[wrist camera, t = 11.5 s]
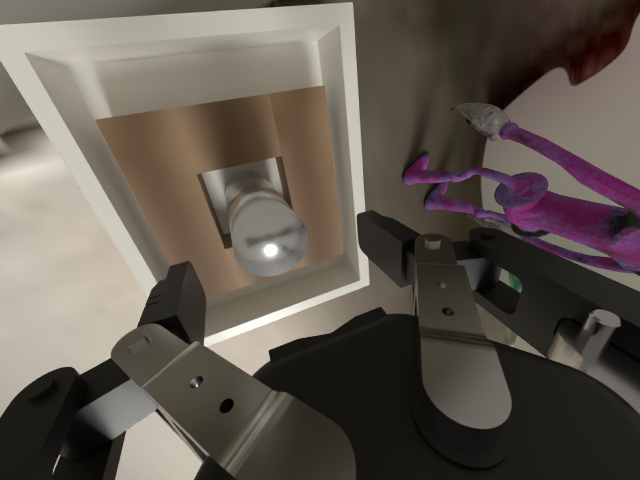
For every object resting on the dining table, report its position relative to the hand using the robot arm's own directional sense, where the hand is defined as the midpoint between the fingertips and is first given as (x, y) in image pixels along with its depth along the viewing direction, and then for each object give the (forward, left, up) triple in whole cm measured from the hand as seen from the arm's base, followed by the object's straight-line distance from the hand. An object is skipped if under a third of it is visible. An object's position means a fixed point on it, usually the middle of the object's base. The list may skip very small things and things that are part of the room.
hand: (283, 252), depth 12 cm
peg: (0, 0, -12) cm, 12 cm away
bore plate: (0, 0, -13) cm, 13 cm away
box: (0, 0, -13) cm, 13 cm away
